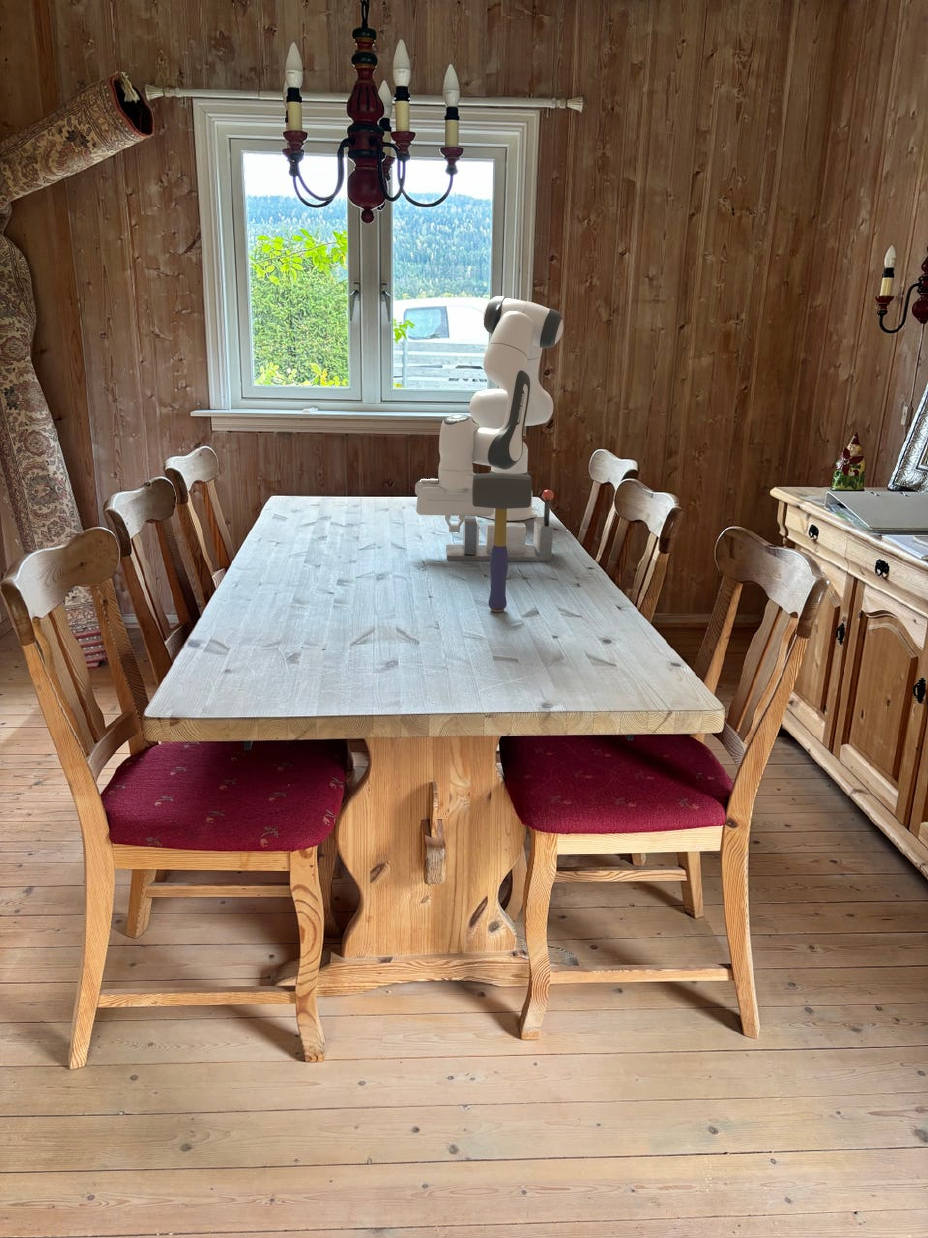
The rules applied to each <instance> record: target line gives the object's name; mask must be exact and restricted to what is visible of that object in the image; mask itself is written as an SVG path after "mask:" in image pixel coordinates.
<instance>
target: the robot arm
mask: <svg viewBox="0 0 928 1238" xmlns="http://www.w3.org/2000/svg"><path fill="white" fill-rule="evenodd" d="M563 320H564V318H563V315H562V313H561V312H559V311H558V310H556V309H555V308H548V307H546V306H543V305H541V304H538V303H535V302H532V301H526V300H521V299H517V298H516V299H515V298H508V297H507V296H503V295H498V296H497V295H496V296H494V297H492V298H491V299H490V300H489V301H488V303H487V304H486V307H485V308H484V311H483V327H484V328H485V331H487V332H488V333H489V334H491V337H490V340H489V341H488V342H489V343H488V345H487V347H486V351H485V354H484V358H483V364H482V365H483V366H482V367H483V370H484V372H485V375H486V376H487V377H488V379H489V380H490V381H491V382H492V383H493V384H495V385H496V386H497V387H498V388H488V389H483V390H478V391H476V392H475V393H474V394H473V395H472V397H471V399H470V402H469V406H468V408H469V414H470V415H471V416H470V415H467V414H453V415H449V416H447V417H445V418H444V419H442V422H441V424H440V426H441V427H440V430H439V437H438V438H439V440H438V441H439V442H438V452H439V457H440V459H439V464H438V478H430V479H429V478H428V479H427V478H421V479H420V480H418V481H417V482H416V483H415V486H414V493H415V495H416V505H415V506H416V508H415V511H416V514H418V515H419V516H443V517H444V518H445V519H444V520H445V522H446V524H447V526H448V533H461V526H462V524H463V522H464V516H475V517H483V518H486V519H490V520H491V519H492V520H495V508H485V507H475V506H473V504H472V483H473V475H474V474H477V473H476V472H474V466H473V464H477V465H483V466H489V467H490V469H491V470H490V471H489V473H511V474H523V475H529V472H528V459H529V456H528V455H529V448H528V445H527V444H526V443H525V442H524V431H525V426H526V427H528V426H529V427H530V426H531V427H532V426H536V425H537V426H538V425H541V424H546V423H548V422H549V420H550V419H551V417H552V415H553V413H554V401H553V399H552V397H551V394H549V392H547V391H546V390H545V389H544V388H543V386H542V384H541V383H540V381H539V371H540V364H541V358H542V353H543V349H551V348H553V347H555V346H556V345H557V343H558V342H559V340H560V338H561V337H562V335H563V331H564V321H563ZM452 516H455V517H458V523H457V524H452V523H451V518H452ZM536 517H539V516H538V513H537V512H535V511H534V510H533V496H532V497H531V505H530V507H528V508H511V509H507V522H508V521H510V522H511V521H512V522H513V521H524V520H528V519H532V518H536Z"/></svg>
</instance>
